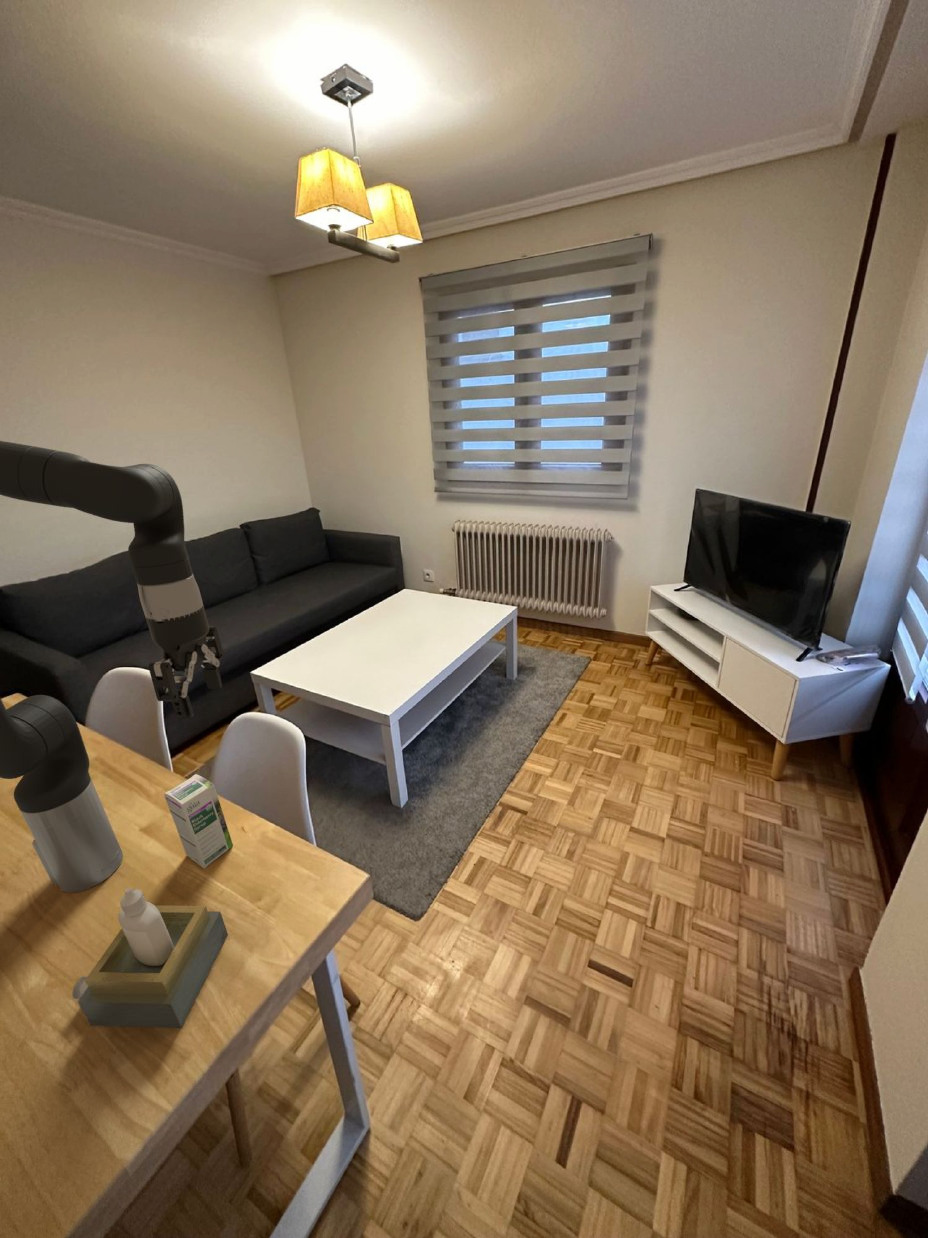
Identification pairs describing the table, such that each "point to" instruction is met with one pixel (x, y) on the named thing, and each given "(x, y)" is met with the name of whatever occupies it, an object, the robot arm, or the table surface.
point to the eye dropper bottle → (144, 929)
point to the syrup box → (199, 820)
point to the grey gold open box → (153, 974)
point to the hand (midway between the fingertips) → (201, 702)
